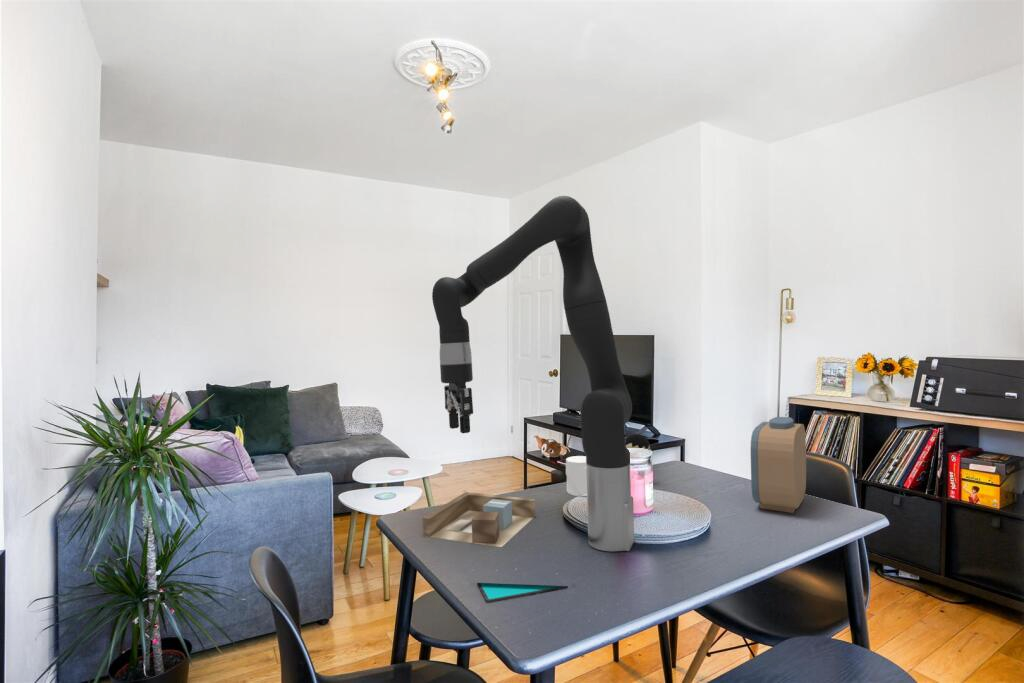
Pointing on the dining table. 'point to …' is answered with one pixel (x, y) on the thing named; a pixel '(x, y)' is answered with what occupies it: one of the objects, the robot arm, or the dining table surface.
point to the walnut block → (485, 527)
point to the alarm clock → (778, 464)
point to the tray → (459, 512)
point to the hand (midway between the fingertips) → (459, 430)
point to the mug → (576, 475)
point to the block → (500, 511)
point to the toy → (637, 442)
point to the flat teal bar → (513, 590)
